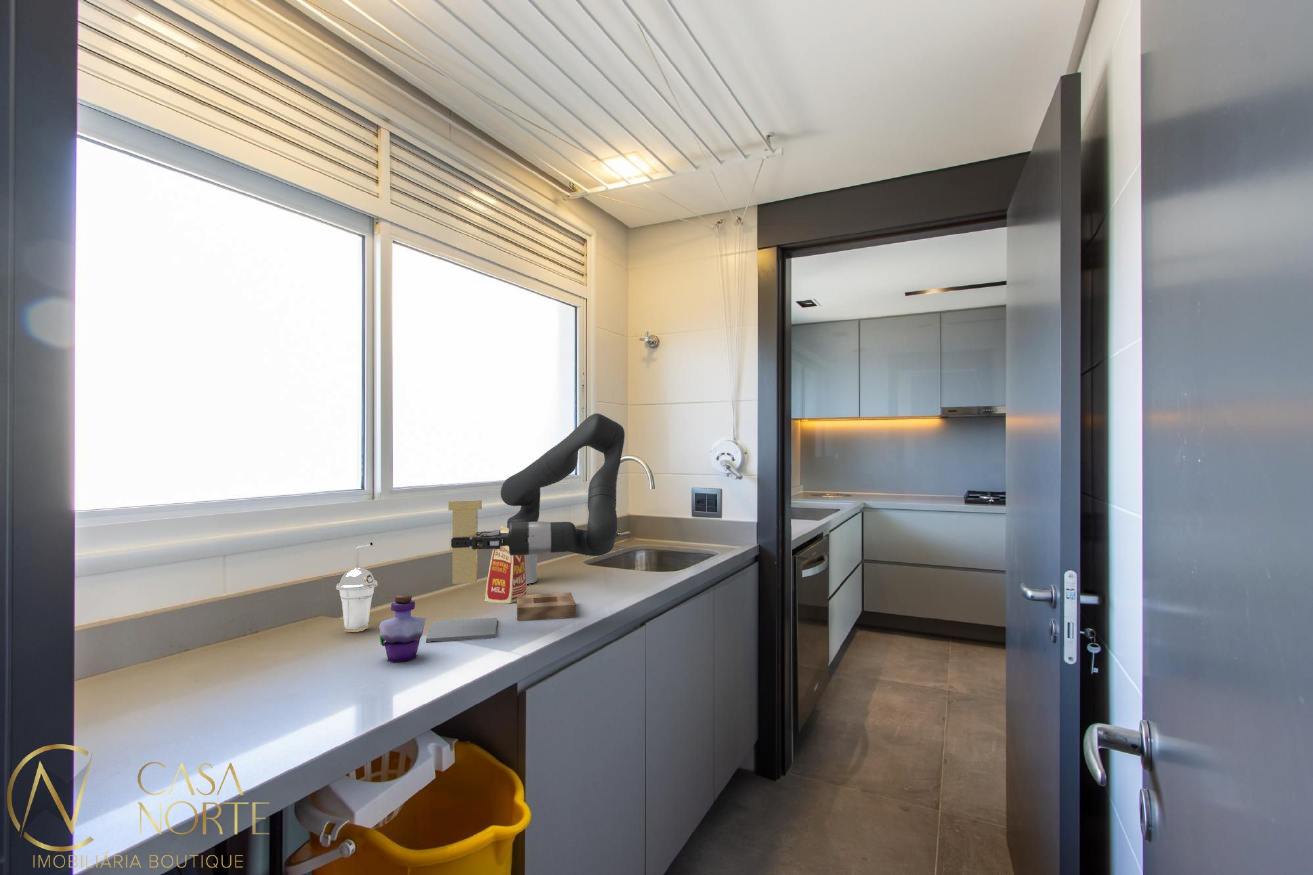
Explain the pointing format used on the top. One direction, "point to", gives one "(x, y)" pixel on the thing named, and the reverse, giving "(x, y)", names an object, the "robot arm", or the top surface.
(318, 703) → the top surface
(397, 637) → the potion bottle
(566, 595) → the socket block
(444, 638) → the slate mat
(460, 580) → the pale yellow tall block
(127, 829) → the top surface
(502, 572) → the milk carton
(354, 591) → the cup with straw
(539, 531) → the robot arm
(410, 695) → the top surface
